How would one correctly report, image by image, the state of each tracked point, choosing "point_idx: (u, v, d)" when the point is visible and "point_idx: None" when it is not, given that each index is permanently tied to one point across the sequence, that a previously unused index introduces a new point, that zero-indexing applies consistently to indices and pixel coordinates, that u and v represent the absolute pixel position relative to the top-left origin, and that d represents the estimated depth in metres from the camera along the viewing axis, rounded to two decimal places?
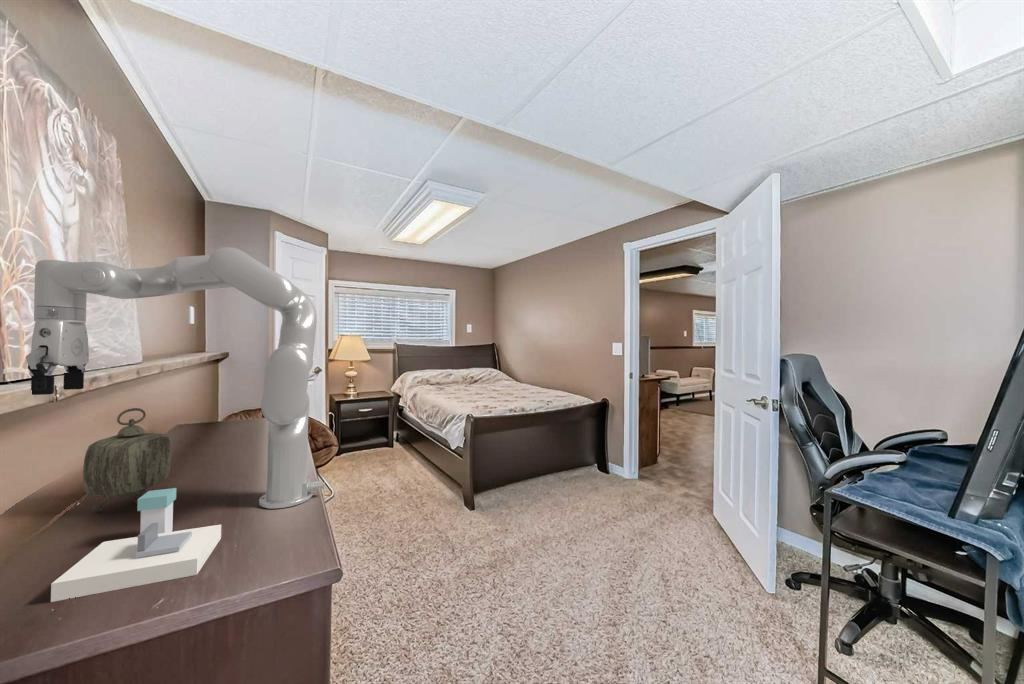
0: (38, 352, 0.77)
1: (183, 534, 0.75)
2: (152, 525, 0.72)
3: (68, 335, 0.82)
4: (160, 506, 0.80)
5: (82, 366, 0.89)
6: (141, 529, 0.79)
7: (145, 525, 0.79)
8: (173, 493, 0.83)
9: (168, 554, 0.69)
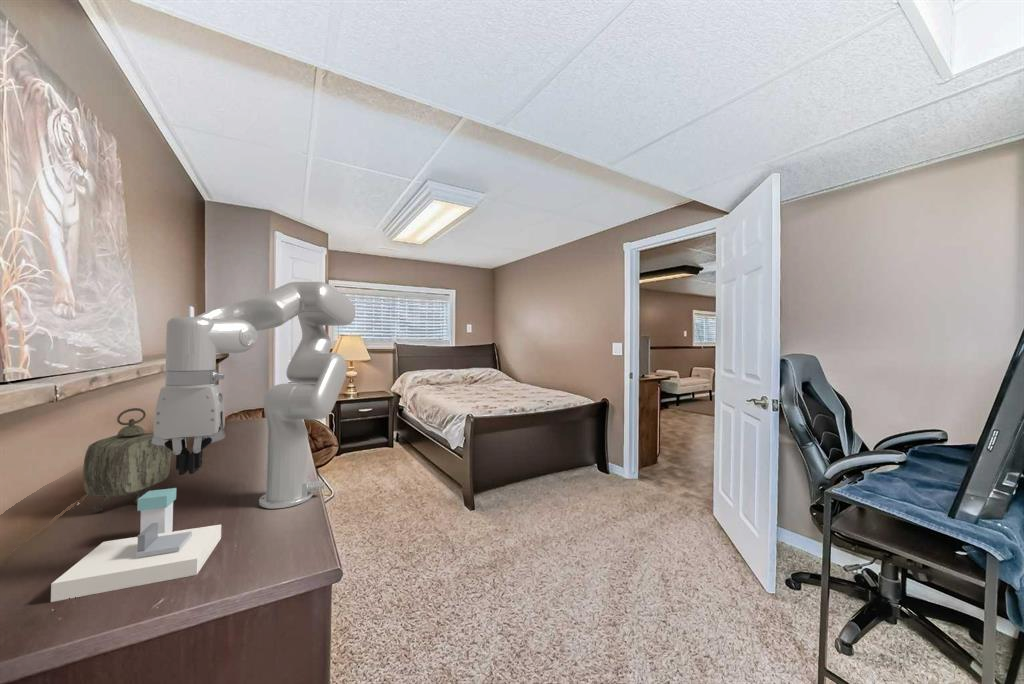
0: (222, 429, 0.76)
1: (183, 534, 0.75)
2: (152, 525, 0.72)
3: None
4: (160, 506, 0.80)
5: None
6: (141, 529, 0.79)
7: (145, 525, 0.79)
8: (173, 493, 0.83)
9: (168, 554, 0.69)
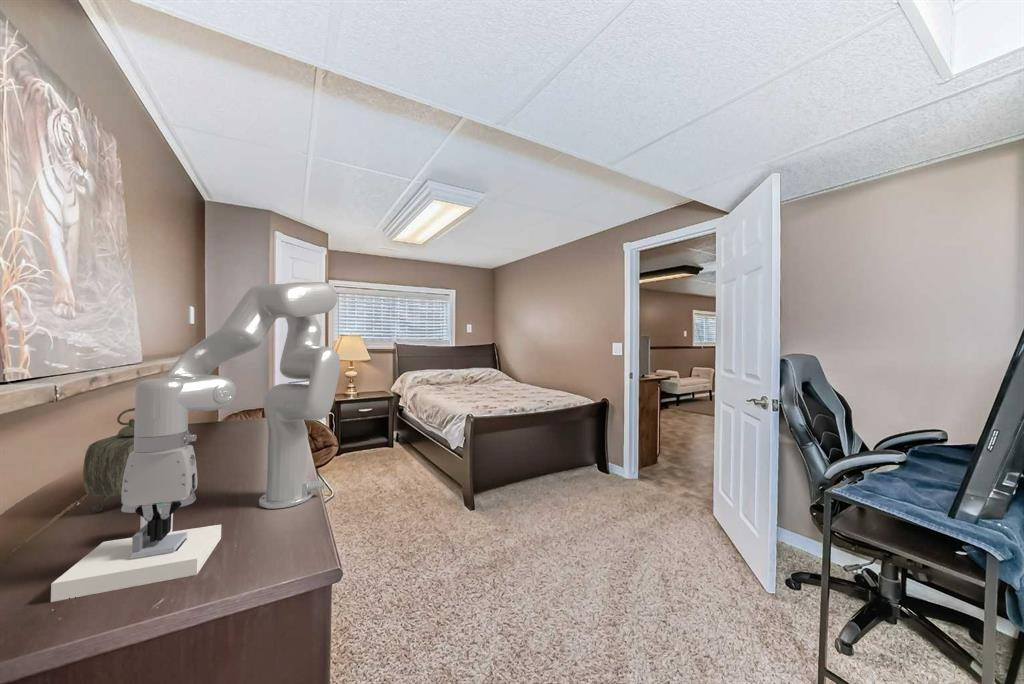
0: (193, 492, 0.74)
1: (178, 535, 0.74)
2: None
3: None
4: (160, 506, 0.80)
5: None
6: None
7: None
8: None
9: (168, 554, 0.69)
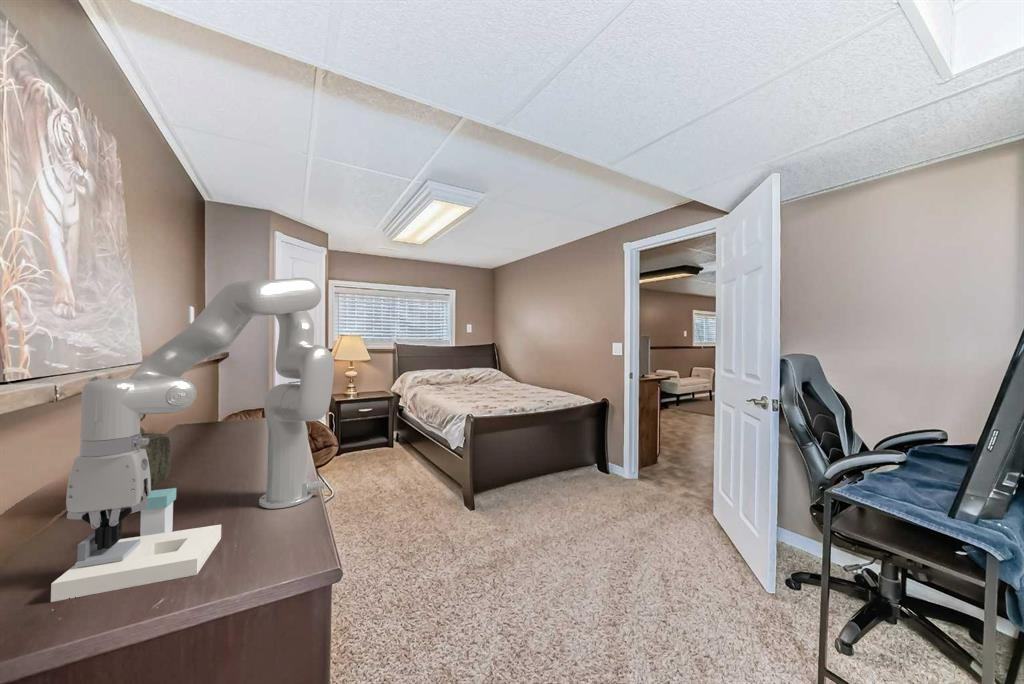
0: (145, 497, 0.71)
1: (130, 542, 0.71)
2: None
3: None
4: (160, 506, 0.80)
5: None
6: (141, 529, 0.79)
7: (145, 525, 0.79)
8: (173, 493, 0.83)
9: (168, 554, 0.69)
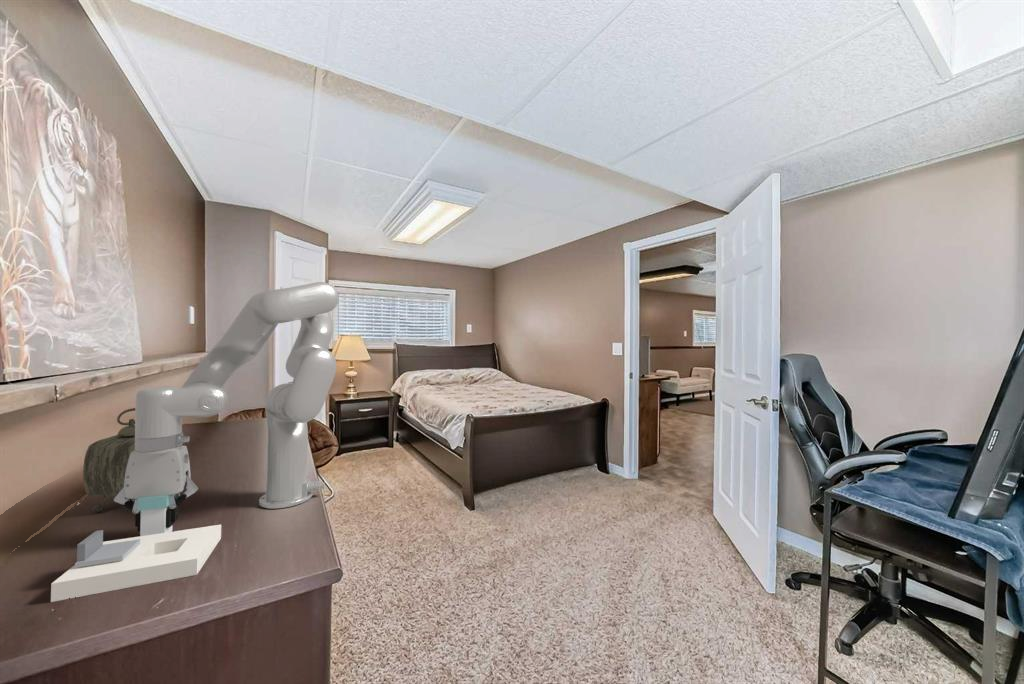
0: (193, 483, 0.84)
1: (130, 542, 0.71)
2: (95, 533, 0.69)
3: None
4: (160, 506, 0.80)
5: None
6: (141, 529, 0.79)
7: (145, 525, 0.79)
8: None
9: (168, 554, 0.69)
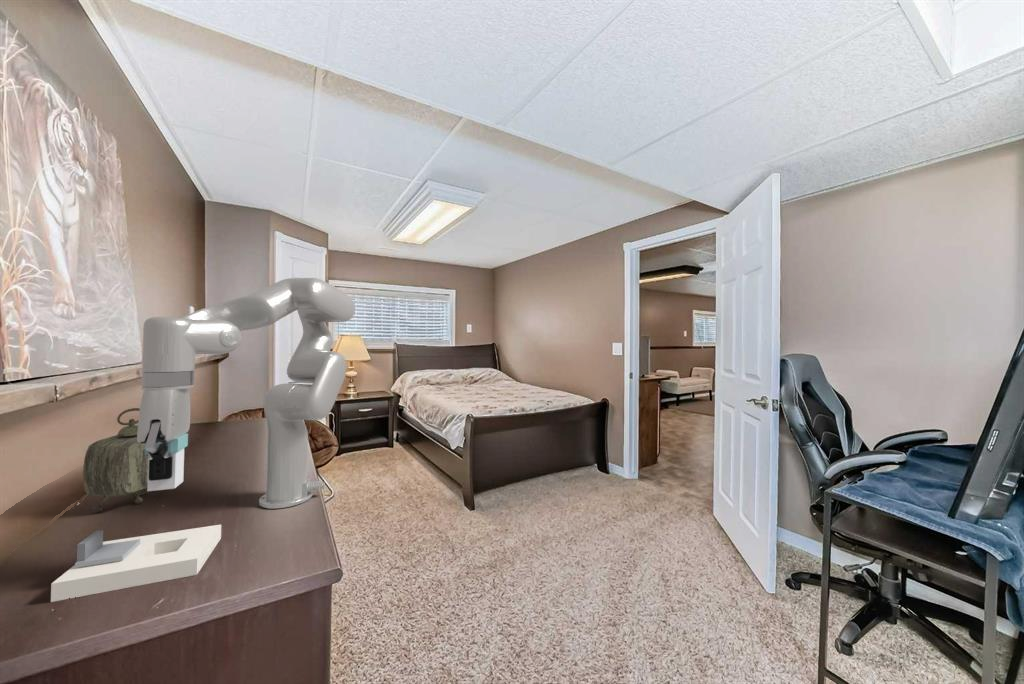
0: None
1: (130, 542, 0.71)
2: (95, 533, 0.69)
3: None
4: (185, 445, 0.74)
5: None
6: (175, 473, 0.71)
7: (177, 468, 0.72)
8: None
9: (168, 554, 0.69)
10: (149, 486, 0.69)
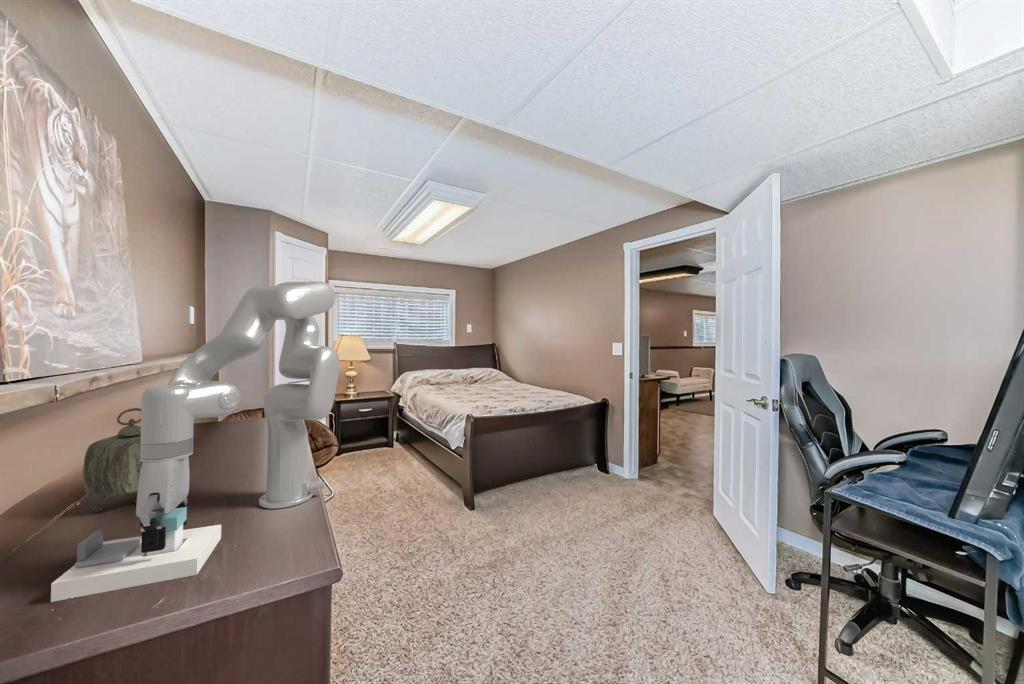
0: None
1: (130, 542, 0.71)
2: (95, 533, 0.69)
3: None
4: (184, 519, 0.74)
5: None
6: (174, 551, 0.71)
7: (176, 545, 0.71)
8: None
9: (168, 554, 0.69)
10: None
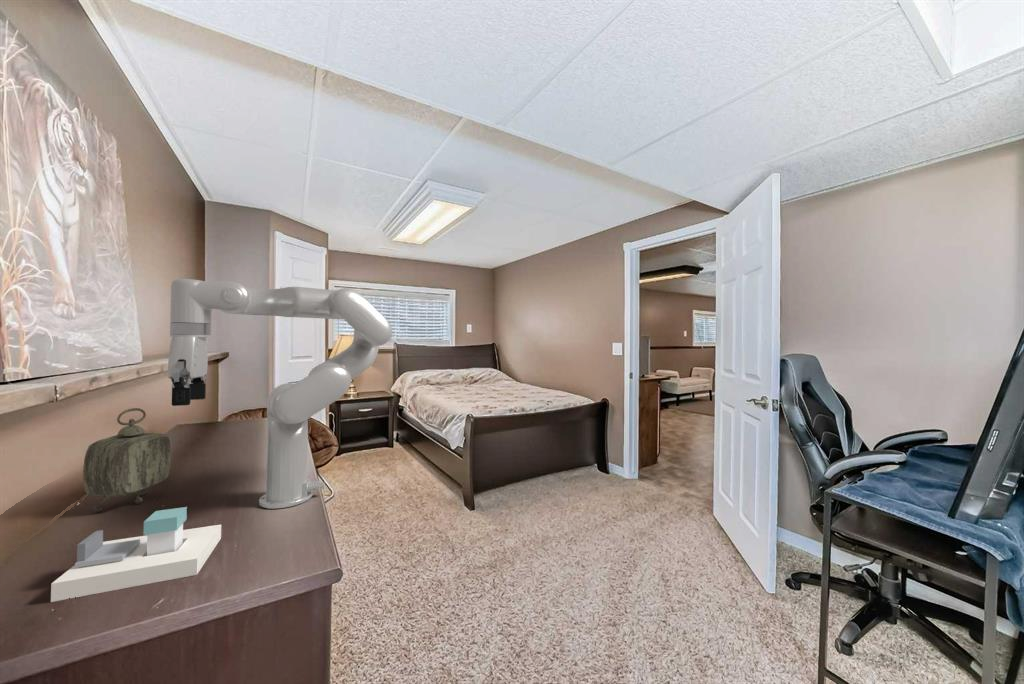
0: None
1: (130, 542, 0.71)
2: (95, 533, 0.69)
3: None
4: (184, 519, 0.74)
5: None
6: (174, 551, 0.71)
7: (176, 545, 0.71)
8: None
9: (168, 554, 0.69)
10: None
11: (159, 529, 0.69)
